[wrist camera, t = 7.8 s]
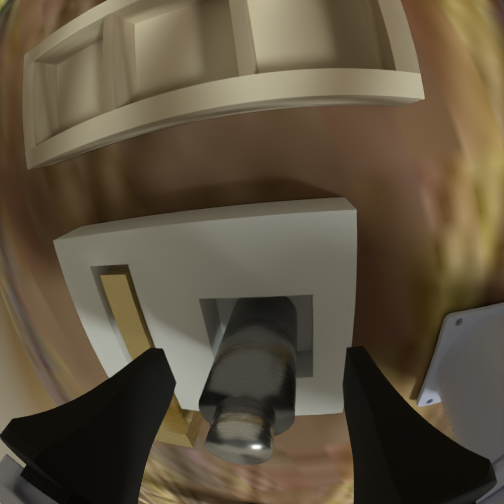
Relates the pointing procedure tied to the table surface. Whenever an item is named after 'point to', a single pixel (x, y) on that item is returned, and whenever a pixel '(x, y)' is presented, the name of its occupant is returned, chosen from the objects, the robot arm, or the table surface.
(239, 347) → the stepped metal cylinder
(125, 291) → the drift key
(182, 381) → the socket block
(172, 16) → the rack
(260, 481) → the table surface
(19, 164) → the table surface
